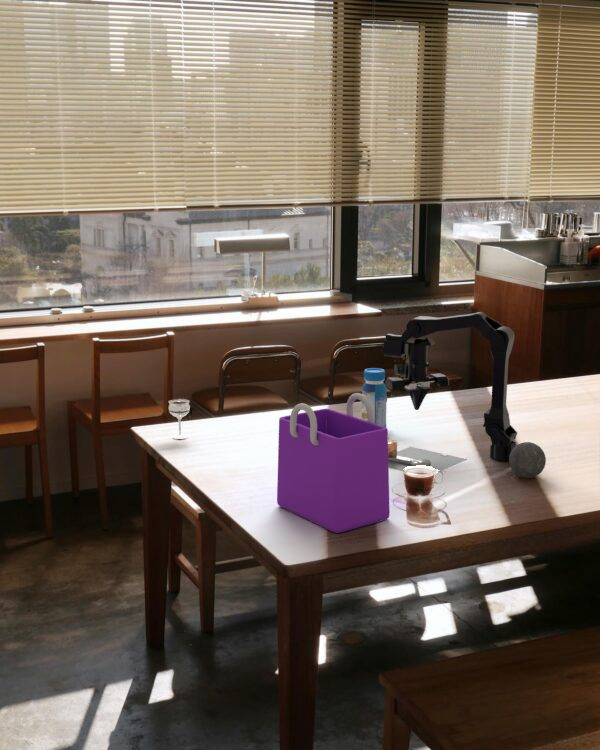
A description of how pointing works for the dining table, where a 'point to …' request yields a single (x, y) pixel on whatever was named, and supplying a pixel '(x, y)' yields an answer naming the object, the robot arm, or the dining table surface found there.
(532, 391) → the dining table surface
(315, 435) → the shopping bag
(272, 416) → the dining table surface
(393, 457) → the crank
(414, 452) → the mount plate
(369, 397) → the beverage bottle
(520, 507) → the dining table surface
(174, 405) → the wineglass
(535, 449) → the decorative ball
